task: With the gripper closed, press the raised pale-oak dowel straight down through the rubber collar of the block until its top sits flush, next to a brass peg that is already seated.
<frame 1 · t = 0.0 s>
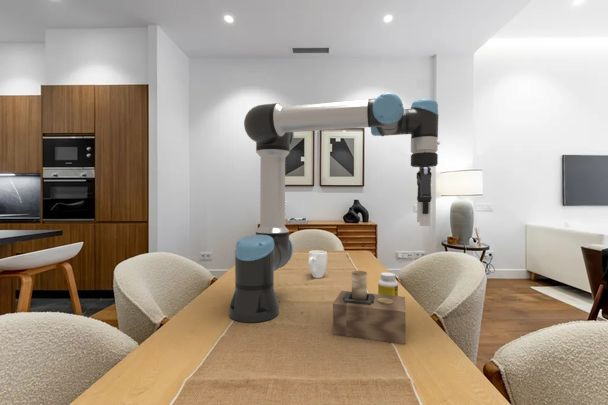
hand: (423, 224, 93), 28 cm above the table, fingers open, 13 cm apart
pill bottle: (387, 308, 101), on the table
oak peg: (359, 287, 85), point 11 cm above the table, slide at 7.0 cm
mug: (315, 278, 138), on the table
socket block: (369, 329, 84), on the table
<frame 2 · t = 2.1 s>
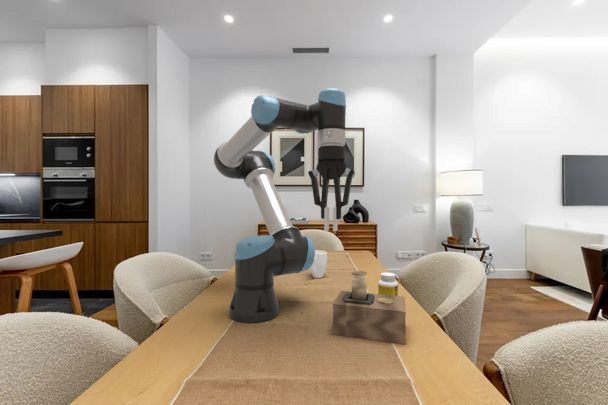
hand: (330, 230, 87), 26 cm above the table, fingers closed
nothing on the table moved.
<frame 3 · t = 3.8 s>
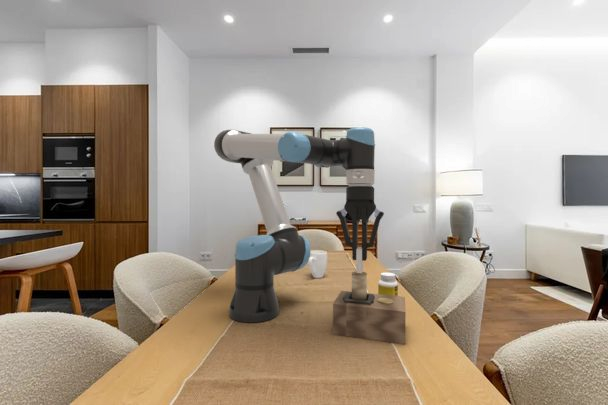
hand: (359, 272, 84), 15 cm above the table, fingers closed
oak peg: (359, 287, 85), point 11 cm above the table, slide at 6.8 cm, touching gripper
everything else where it was.
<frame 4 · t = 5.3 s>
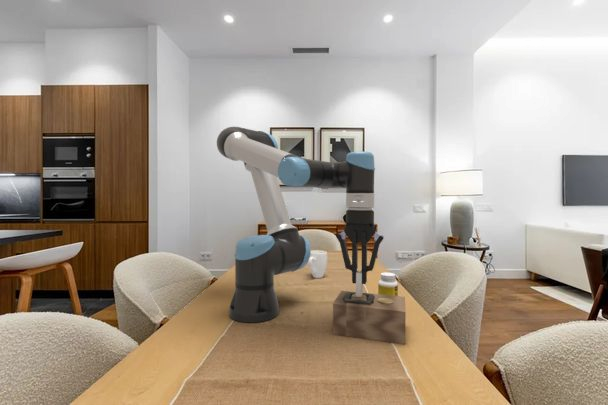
hand: (359, 295, 85), 9 cm above the table, fingers closed
oak peg: (358, 310, 85), point 5 cm above the table, slide at 0.5 cm, touching gripper
everything else where it was.
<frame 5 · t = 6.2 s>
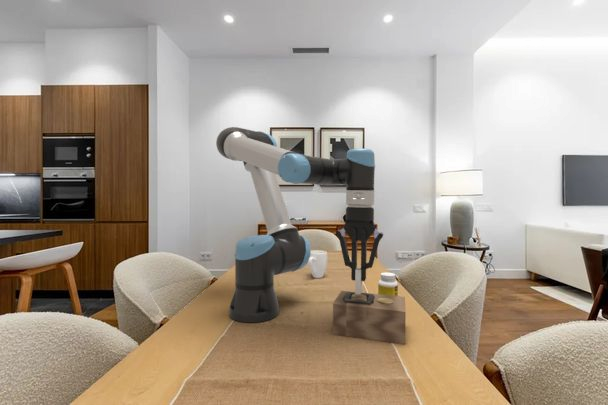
hand: (358, 292, 85), 10 cm above the table, fingers closed
oak peg: (358, 310, 85), point 5 cm above the table, slide at 0.5 cm
everything else where it was.
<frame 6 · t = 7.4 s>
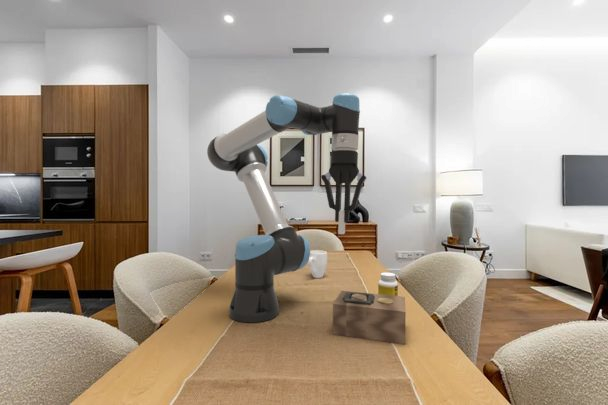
hand: (341, 233, 89), 25 cm above the table, fingers closed
nothing on the table moved.
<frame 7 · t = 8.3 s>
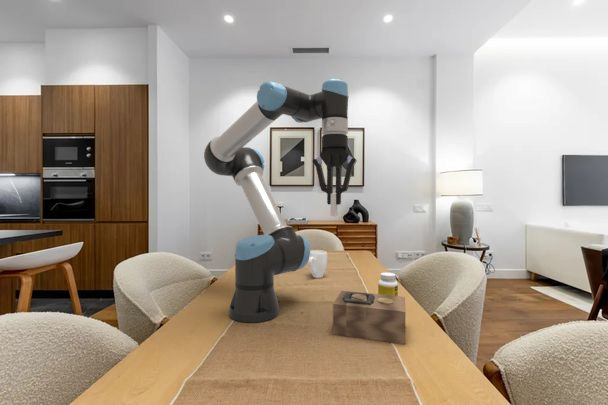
hand: (333, 215, 90), 30 cm above the table, fingers closed
nothing on the table moved.
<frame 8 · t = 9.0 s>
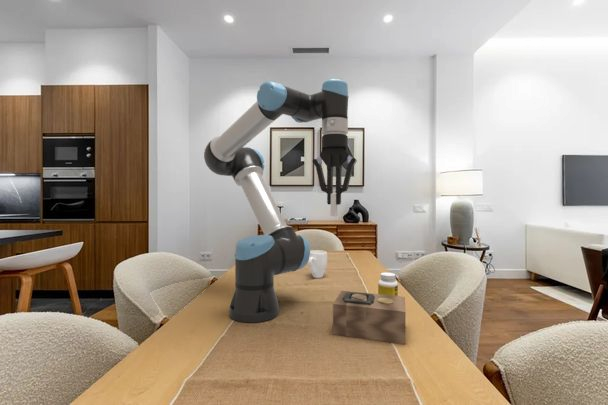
hand: (333, 215, 90), 30 cm above the table, fingers closed
nothing on the table moved.
at the end: oak peg slide at 0.5 cm; oak peg touching nothing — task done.
